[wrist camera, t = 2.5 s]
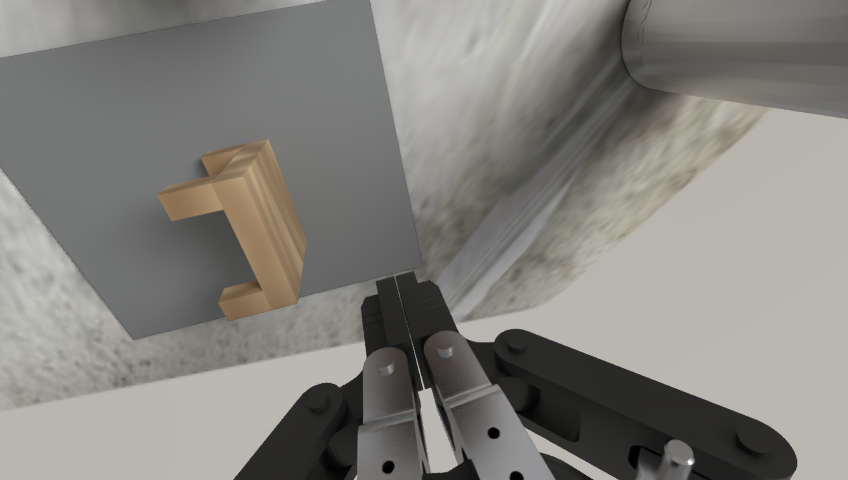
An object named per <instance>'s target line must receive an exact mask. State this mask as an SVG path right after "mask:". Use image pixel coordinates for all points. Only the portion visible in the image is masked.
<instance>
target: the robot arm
mask: <svg viewBox="0 0 848 480" xmlns="http://www.w3.org/2000/svg"><path fill="white" fill-rule="evenodd" d="M622 54H623V59H624V63H625V65H626V67H627V70H628V72H629V73H630V75H631V76H632V77H633V79H634V80H635V81H636V82H638V83H639V84H641V85H642V86H644V87H647V88H650V89H653V90H660V91H666V92H673V93H680V94H686V95H692V96H698V97H704V98H711V99H718V100H724V101H731V102H738V103H744V104H751V105H758V106H764V107H771V108H777V109H784V110H791V111H797V112H804V113H811V114H817V115H824V116H831V117H837V118H844V119H848V0H631V1H630V3H629V6H628V9H627V12H626V15H625V18H624V24H623V30H622ZM396 281H397V285H398V289H399V293H400V297H401V301H402V305H403V308H402V305H401V301H400V297H399V293H398V290H397V286H396V282H395V279H394V277H390V278H386V279H382V280H379V281H376V286H377V291H378V294H377V295H373V296H369V297H365V299H364V302H363V304H362V306H361V312H362V321H363V330H364V338H365V346H366V355H367V359H366V361H365V363H364V366H363V370H362V372H361V373H360V374H359V375H358V376H357V377H356V378H354V379H353V380H351V381H350V382H348V383H347V384H345V385H343V386H342V387H340V388H339V387H338V386H337V385H335V384H332V383H321V384H318V385H315V386H313V387H311V388H310V389H308V390H307V391H306V392H304V393H303V394H302V396H301V397H300V398H299V399H298V400H297V402H296V403H295V404H294V405H293V407H292V408H291V409H290V410H289V412H288V413H287V414H286V415H285V416H284V418H283V419H282V420H281V421H280V423H279V424H278V425H277V426H276V428H275V429H274V430H273V431H272V433H271V434H270V435H269V436H268V437H267V439H266V440H265V441H264V442H263V444H262V445H261V446H260V447H259V449H258V450H257V451H256V452H255V454H254V455H253V456H252V457H251V459H250V460H249V461H248V462H247V464H246V465H245V466H244V467H243V469H242V470H241V471H240V472H239V473H238V475H237V476H236V477H235V478H234V480H354V478H355V476H356V475H357V480H593V479H591V478H590V477H588V476H587V475H585V474H583V473H582V472H580V471H578V470H577V469H575V468H573V467H572V466H570V465H569V464H567V463H565V462H564V461H562V460H560V459H558V458H555V457H553V456H550V455H547V454H544V453H540V452H539V451H538V450H537V448H536V446H535V445H534V443H533V441H532V440H531V438H530V436H529V435H528V433H527V431H526V430H525V428H527V429H529V430H531V431H532V432H534V433H536V434H538V435H540V436H542V437H543V438H545V439H547V440H549V441H550V442H552V443H554V444H556V445H558V446H559V447H561V448H563V449H565V450H567V451H568V452H570V453H572V454H574V455H576V456H577V457H579V458H581V459H583V460H585V461H586V462H588V463H590V464H592V465H593V466H595V467H597V468H599V469H600V470H602V471H604V472H606V473H608V474H609V475H611V476H613V477H615V478H617V479H618V480H790V478H791V477H792V475H793V474H794V472H795V470H796V468H797V458H796V455H795V452H794V450H793V449H792V447H791V446H790V444H789V443H788V442H787V441H786V440H785V438H783V437H782V436H781V435H780V434H779V433H778V432H777V431H775V430H774V429H772V428H771V427H769V426H768V425H766V424H764V423H762V422H760V421H758V420H755V419H753V418H751V417H748V416H745V415H743V414H740V413H738V412H735V411H732V410H730V409H727V408H725V407H722V406H720V405H717V404H714V403H712V402H709V401H707V400H704V399H702V398H699V397H696V396H694V395H691V394H689V393H686V392H683V391H681V390H678V389H676V388H673V387H670V386H668V385H665V384H663V383H660V382H657V381H655V380H652V379H650V378H647V377H645V376H642V375H640V374H637V373H634V372H632V371H629V370H626V369H624V368H621V367H619V366H616V365H614V364H611V363H609V362H606V361H603V360H601V359H598V358H596V357H593V356H590V355H588V354H585V353H583V352H580V351H578V350H575V349H572V348H570V347H567V346H564V345H562V344H559V343H557V342H554V341H552V340H549V339H547V338H544V337H541V336H539V335H536V334H533V333H531V332H528V331H525V330H522V329H510V330H506V331H504V332H502V333H500V334H499V335H498V336H497V338H496V339H495V342H484V343H482V342H473V341H470V340H468V339H466V338H464V337H463V336H462V335H461V334H460V333H459V332H458V330H457V328H456V325H455V323H454V321H453V318H452V316H451V314H450V312H449V309H448V307H447V305H446V303H445V300H444V298H443V296H442V294H441V291H440V289H439V287H438V286H437V285H436V284H434V283H433V282H431V281H430V280H429V281H425V282H421V283H418V282H417V280H416V277H415V274H414V272H409V273H405V274H401V275H397V276H396ZM403 309H404V312H403ZM404 313H405V316H404ZM405 317H406V319H405ZM406 321H407V323H406ZM407 325H408V327H407ZM408 328H409V330H408ZM409 332H410V334H409ZM410 336H411V338H410ZM411 339H412V341H411ZM412 343H413V345H412ZM413 347H414V350H415V354H416V357H417V361H418V365H419V368H420V372H421V376H422V379H423V383H424V387H425V389H428V388H432V392H433V395H434V399H435V403H436V408H437V411H438V414H439V416H440V418H441V421H442V424H443V427H444V429H445V432H446V434H447V437H448V439H449V442H450V445H451V447H452V449H453V452H454V455H455V458H456V461H457V463H458V466H456V467H455V468H453V469H452V470H450V471H448V472H444V473H431V471H430V465H429V459H428V453H427V447H426V440H425V434H424V427H423V421H422V415H421V411H420V409H421V403H420V398H419V395H418V391H421V390H423V387H422V383H421V378H420V374H419V371H418V366H417V362H416V358H415V354H414V350H413ZM524 427H525V428H524Z"/></svg>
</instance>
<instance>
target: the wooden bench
mask: <svg viewBox="0 0 848 480" xmlns="http://www.w3.org/2000/svg"><path fill="white" fill-rule="evenodd" d="M201 159H202V161H203V163H204V165H205V167H206V169H207V172H208V174H209V177H205V178H200V179H196V180H191V181H186V182H182V183H177V184H173V185H168V186H167V187H166V188H165V189H164V190H163V191H161V192H160V193H159V194H158V195H157V196H158V198H159V200H160V202H161V203H162V205H163V207H164V209H165V210H166V212H167V214H168V216H169V217H170V219H171V221H176V220H180V219H184V218H189V217H193V216H198V215H202V214H206V213H211V212H215V211H219V210H224V211H225V213H226V216H227V218H228V220H229V222H230V224H231V226H232V228H233V230H234V232H235V234H236V236H237V238H238V240H239V243H240V245H241V247H242V249H243V251H244V253H245V255H246V257H247V259H248V261H249V263H250V265H251V268H252V270H253V272H254V274H255V276H256V278H257V280H256V281H252V282H248V283H244V284H240V285H236V286H232V287H228V288H224V290H223V293H222V295H221V297H220V299H219V302H218V304H219V305H220V307H221V309H222V311H223V312H224V314H225V316H226V318H227V319H228V321H231V320H235V319H239V318H243V317H247V316H251V315H254V314H258V313H262V312H266V311H270V310H274V309H278V308H282V307H285V306H289V305H293V304H297V303H298V296H299V289H300V283H301V276H302V269H303V262H304V255H305V248H306V241H307V240H306V238H305V235H304V232H303V230H302V227H301V224H300V222H299V219H298V216H297V214H296V211H295V208H294V205H293V203H292V200H291V197H290V195H289V192H288V189H287V187H286V184H285V181H284V179H283V176H282V173H281V171H280V168H279V165H278V163H277V160H276V157H275V155H274V152H273V149H272V147H271V144H270V141H269V139H265V140H261V141H256V142H251V143H246V144H242V145H237V146H232V147H228V148H223V149H218V150H213V151H209V152H207V153H205V154H204V155H203V156H202V157H201Z"/></svg>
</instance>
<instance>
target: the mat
mask: <svg viewBox="0 0 848 480" xmlns="http://www.w3.org/2000/svg"><path fill="white" fill-rule="evenodd" d="M265 139H269V141H270V144H271V147H272V149H273V152H274V155H275V157H276V160H277V163H278V165H279V168H280V171H281V173H282V176H283V179H284V181H285V184H286V187H287V189H288V192H289V195H290V197H291V200H292V203H293V205H294V208H295V211H296V214H297V216H298V219H299V222H300V224H301V227H302V230H303V232H304V235H305V238H306V240H307V241H306V248H305V255H304V262H303V269H302V276H301V283H300V289H299V296H298V298H300V297H304V296H308V295H311V294H315V293H319V292H323V291H327V290H331V289H335V288H339V287H343V286H347V285H350V284H354V283H358V282H362V281H366V280H370V279H374V278H378V277H382V276H385V275H389V274H393V273H397V272H401V271H405V270H409V269H413V268H417V267H421V266H422V261H421V256H420V251H419V246H418V241H417V236H416V231H415V226H414V220H413V215H412V210H411V205H410V200H409V195H408V190H407V185H406V180H405V175H404V170H403V165H402V160H401V155H400V150H399V145H398V140H397V135H396V130H395V125H394V120H393V115H392V110H391V105H390V100H389V95H388V90H387V84H386V79H385V74H384V69H383V64H382V59H381V54H380V49H379V44H378V39H377V34H376V29H375V24H374V19H373V14H372V9H371V4H370V0H327V1H321V2H315V3H310V4H304V5H298V6H293V7H287V8H281V9H276V10H270V11H264V12H259V13H253V14H247V15H242V16H236V17H230V18H225V19H219V20H213V21H208V22H202V23H196V24H191V25H185V26H179V27H174V28H168V29H162V30H157V31H151V32H145V33H140V34H134V35H128V36H123V37H117V38H111V39H106V40H100V41H94V42H89V43H83V44H77V45H72V46H66V47H60V48H55V49H49V50H43V51H38V52H32V53H26V54H21V55H15V56H9V57H4V58H0V166H1V168H2V169H3V170H4V172H5V173H6V174H7V176H8V177H9V178H10V179H11V181H12V182H13V183H14V185H15V186H16V187H17V189H18V190H19V191H20V192H21V194H22V195H23V196H24V198H25V199H26V200H27V202H28V203H29V204H30V206H31V207H32V208H33V209H34V211H35V212H36V213H37V215H38V216H39V217H40V219H41V220H42V221H43V222H44V224H45V225H46V226H47V228H48V229H49V230H50V232H51V233H52V234H53V236H54V237H55V238H56V239H57V241H58V242H59V243H60V245H61V246H62V247H63V249H64V250H65V251H66V252H67V254H68V255H69V256H70V258H71V259H72V260H73V262H74V263H75V264H76V265H77V267H78V268H79V269H80V271H81V272H82V273H83V275H84V276H85V277H86V279H87V280H88V281H89V282H90V284H91V285H92V286H93V288H94V289H95V290H96V292H97V293H98V294H99V295H100V297H101V298H102V299H103V301H104V302H105V303H106V305H107V306H108V307H109V308H110V310H111V311H112V312H113V314H114V315H115V316H116V318H117V319H118V320H119V322H120V323H121V324H122V325H123V327H124V328H125V329H126V331H127V332H128V333H129V335H130V336H131V337H132V338H133V340H136V339H140V338H144V337H148V336H152V335H156V334H160V333H163V332H167V331H171V330H175V329H179V328H183V327H187V326H191V325H195V324H199V323H202V322H206V321H210V320H214V319H218V318H222V317H226V316H225V314H224V312H223V311H222V309H221V307H220V305H219V304H218V302H219V299H220V297H221V295H222V293H223V290H224V288H228V287H232V286H236V285H240V284H244V283H248V282H252V281H256V280H257V278H256V276H255V274H254V272H253V270H252V268H251V265H250V263H249V261H248V259H247V257H246V255H245V253H244V251H243V249H242V247H241V245H240V243H239V240H238V238H237V236H236V234H235V232H234V230H233V228H232V226H231V224H230V222H229V220H228V218H227V216H226V213H225V211H224V210H219V211H215V212H211V213H206V214H202V215H198V216H193V217H189V218H184V219H180V220H176V221H171V219H170V217H169V216H168V214H167V212H166V210H165V209H164V207H163V205H162V203H161V202H160V200H159V198H158V196H157V195H158V194H159V193H160V192H161V191H163V190H164V189H165V188H166V187H167V186H168V185H173V184H177V183H182V182H186V181H191V180H196V179H200V178H205V177H209V174H208V172H207V169H206V167H205V165H204V163H203V161H202V159H201V157H202V156H203V155H204V154H205V153H207V152H209V151H213V150H218V149H223V148H228V147H232V146H237V145H242V144H246V143H251V142H256V141H261V140H265Z"/></svg>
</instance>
